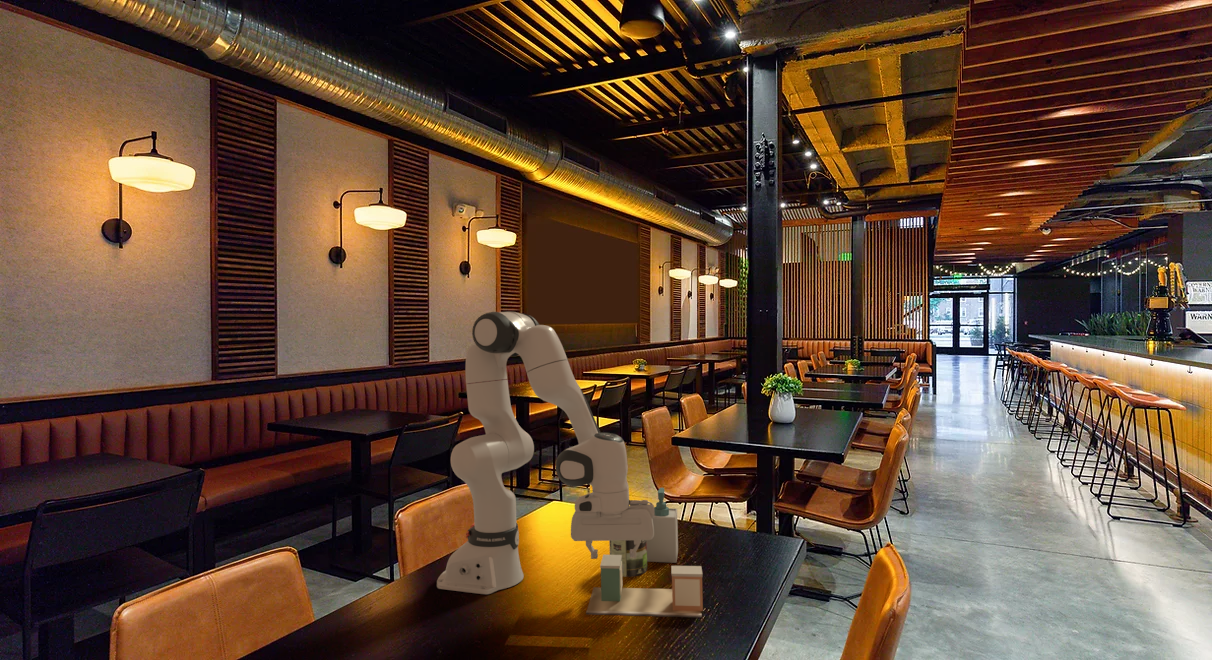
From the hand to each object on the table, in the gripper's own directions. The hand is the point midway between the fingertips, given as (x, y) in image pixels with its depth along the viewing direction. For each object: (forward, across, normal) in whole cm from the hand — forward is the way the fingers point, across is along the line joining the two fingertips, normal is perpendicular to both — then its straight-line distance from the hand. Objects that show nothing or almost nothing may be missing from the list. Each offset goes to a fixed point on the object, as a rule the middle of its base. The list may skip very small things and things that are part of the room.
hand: (613, 557), depth 142 cm
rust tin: (+10, -17, +5) cm, 20 cm away
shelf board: (+11, -7, +2) cm, 13 cm away
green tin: (+9, +1, 0) cm, 9 cm away
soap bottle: (+11, -11, -29) cm, 33 cm away
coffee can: (+11, -2, -16) cm, 20 cm away
